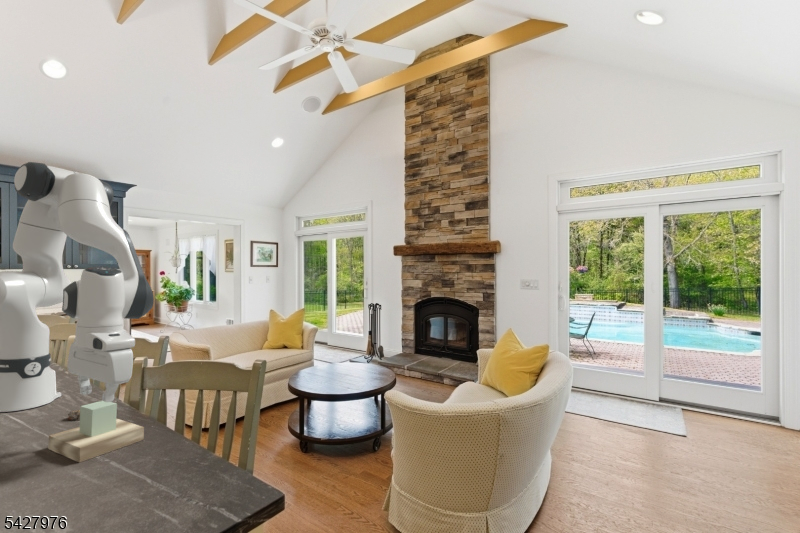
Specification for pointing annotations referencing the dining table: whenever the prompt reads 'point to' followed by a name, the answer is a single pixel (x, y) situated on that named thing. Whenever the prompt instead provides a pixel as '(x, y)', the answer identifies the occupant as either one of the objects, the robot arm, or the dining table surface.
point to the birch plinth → (94, 441)
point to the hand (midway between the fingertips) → (96, 397)
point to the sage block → (98, 418)
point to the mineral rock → (74, 415)
